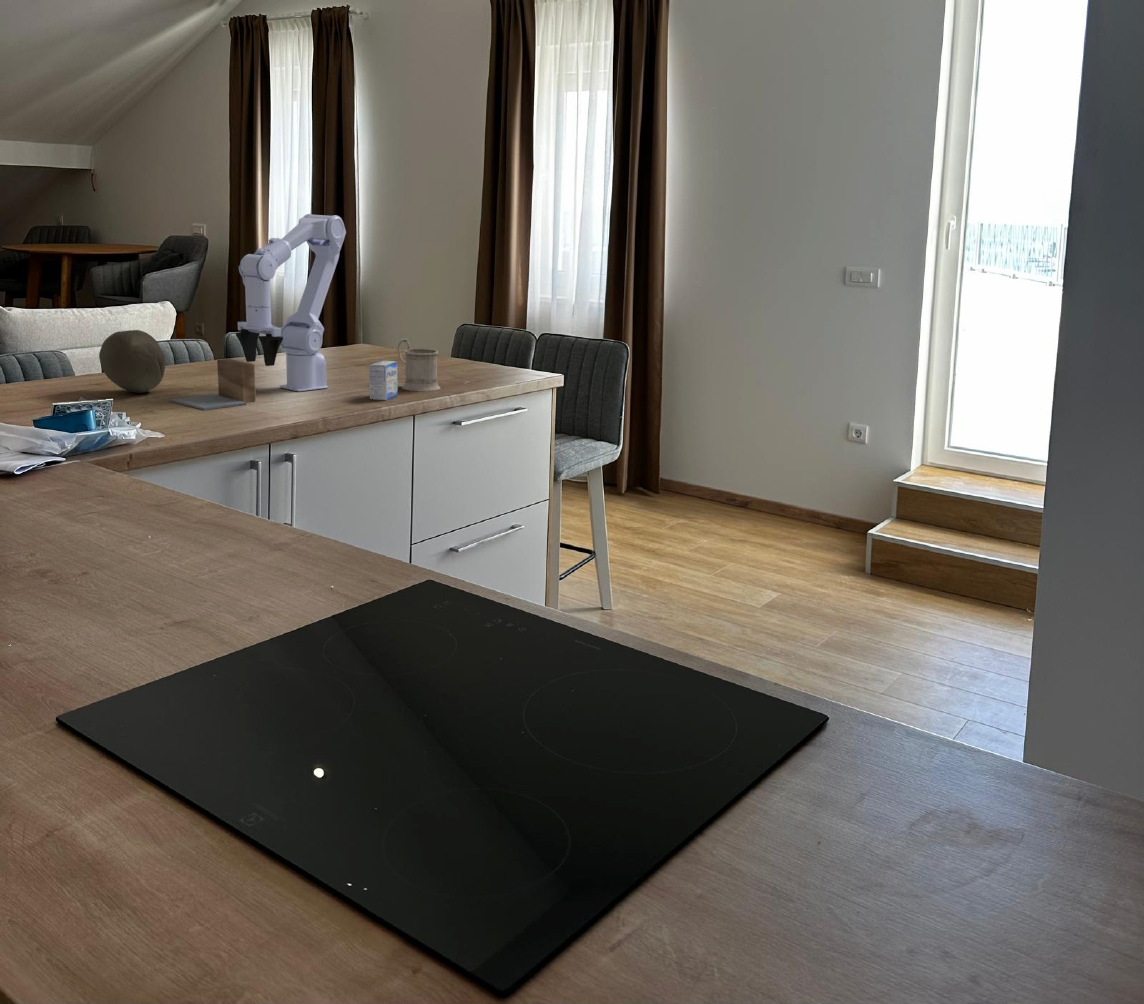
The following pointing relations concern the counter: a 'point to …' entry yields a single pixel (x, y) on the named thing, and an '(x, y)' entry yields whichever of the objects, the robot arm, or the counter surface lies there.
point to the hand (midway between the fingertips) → (260, 363)
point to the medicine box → (383, 380)
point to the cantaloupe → (132, 360)
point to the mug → (420, 368)
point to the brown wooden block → (236, 380)
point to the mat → (208, 401)
